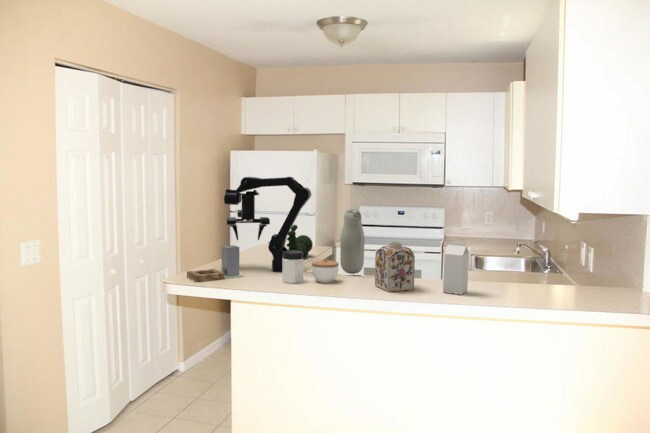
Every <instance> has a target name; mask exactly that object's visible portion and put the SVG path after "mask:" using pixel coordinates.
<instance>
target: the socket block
mask: <svg viewBox="0 0 650 433" xmlns="http://www.w3.org/2000/svg"><path fill="white" fill-rule="evenodd" d="M186 277H187V279H189V280H192V281H193V282H196V283H200V282H201V283H203V282H211V281H220V280H225V279H226V278H225V273H223V272H222V271H220V270H218V269H215V268H211V269H210V268H209V269H201V270H200V269H198V270H190V271H186Z"/></svg>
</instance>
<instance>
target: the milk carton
mask: <svg viewBox="0 0 650 433" xmlns="http://www.w3.org/2000/svg"><path fill="white" fill-rule="evenodd" d="M443 254H444V257H443V258H444V261H443V280H442V283H443V284H442V293H444V292H447V293H446V294H451V293H454V294H453V295H458V294H460V295H461V296H462V295H463V293H464V294H465V293H467V292H468V284H469V283H468V282H469V263H470V262H469V261H470V260H469V259H470V258H469V257H470V252H469V249H468V247H467V243H466V242H465V243H463V242H453V241H447V246H446V248H445V251H444V253H443Z"/></svg>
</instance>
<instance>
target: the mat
mask: <svg viewBox="0 0 650 433" xmlns="http://www.w3.org/2000/svg"><path fill="white" fill-rule="evenodd" d="M232 277H233V278H241V277H244V275H243V274H240V273H239V276H229V277H227V276H225V279H231V278H232ZM233 278H232V279H233Z"/></svg>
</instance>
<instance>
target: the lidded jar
mask: <svg viewBox="0 0 650 433" xmlns="http://www.w3.org/2000/svg"><path fill="white" fill-rule="evenodd" d="M311 265H312V267H311V268H312V274H313V276H314V278H315V280H317V282H318V283H322V284H323V283H324V284H329V283H333V281H335V279H336V278H337V276H338V272H339V262H338V261H336V260H328V259H327V258H323V259H322V260H314V261H312V263H311Z"/></svg>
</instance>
